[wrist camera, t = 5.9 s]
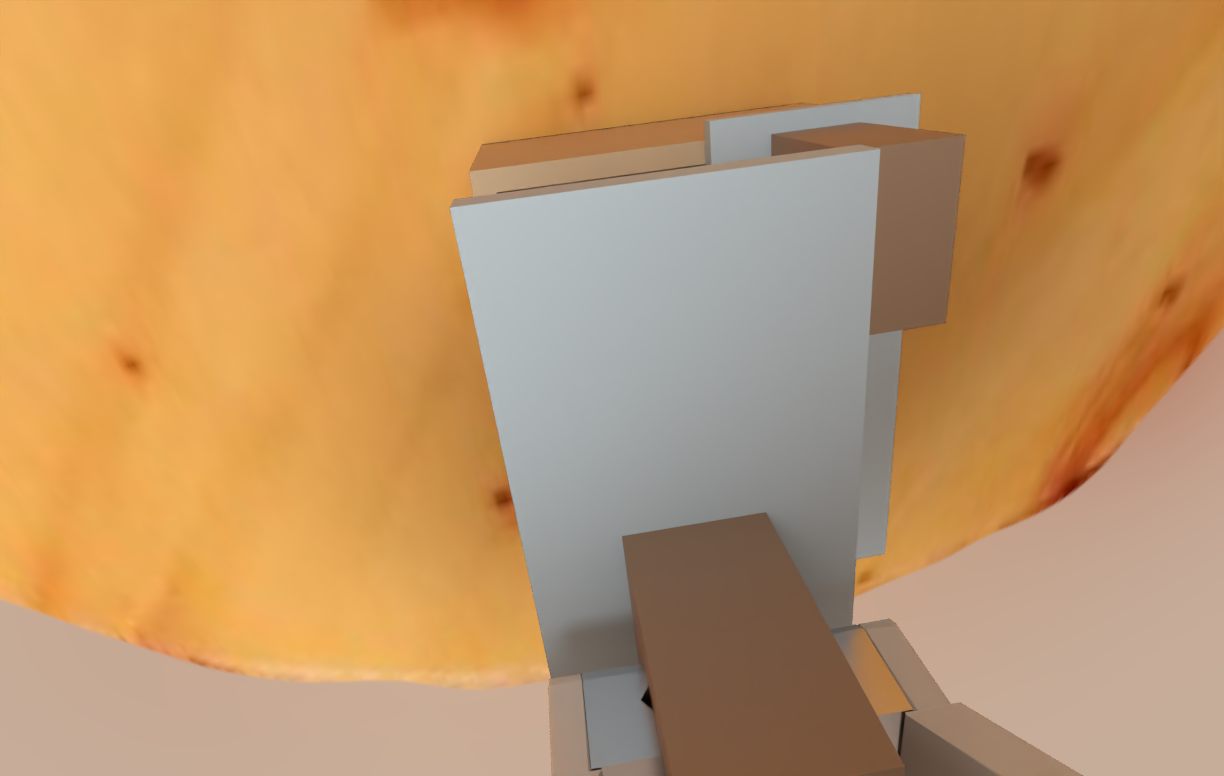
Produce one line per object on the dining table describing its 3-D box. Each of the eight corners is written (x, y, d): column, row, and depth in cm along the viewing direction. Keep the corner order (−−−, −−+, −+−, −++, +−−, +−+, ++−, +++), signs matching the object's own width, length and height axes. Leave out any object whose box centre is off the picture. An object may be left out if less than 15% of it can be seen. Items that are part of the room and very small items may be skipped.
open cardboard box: (800, 103, 25) (914, 112, 18) (797, 429, 31) (882, 533, 24) (481, 144, 24) (468, 171, 17) (542, 471, 31) (551, 593, 23)
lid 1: (859, 144, 9) (1184, 215, 5) (828, 814, 16) (952, 1115, 11) (454, 199, 9) (382, 334, 4) (593, 859, 16) (623, 1189, 11)
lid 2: (908, 93, 18) (1044, 97, 13) (876, 543, 24) (961, 651, 20) (703, 120, 18) (770, 134, 13) (726, 570, 24) (776, 687, 19)
